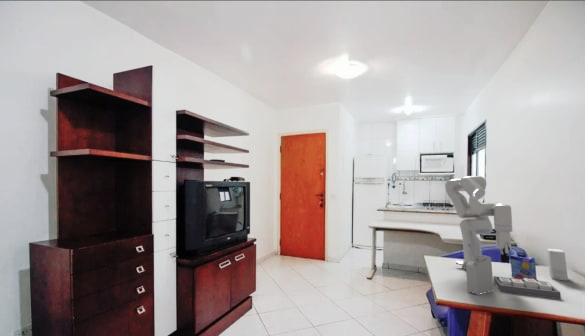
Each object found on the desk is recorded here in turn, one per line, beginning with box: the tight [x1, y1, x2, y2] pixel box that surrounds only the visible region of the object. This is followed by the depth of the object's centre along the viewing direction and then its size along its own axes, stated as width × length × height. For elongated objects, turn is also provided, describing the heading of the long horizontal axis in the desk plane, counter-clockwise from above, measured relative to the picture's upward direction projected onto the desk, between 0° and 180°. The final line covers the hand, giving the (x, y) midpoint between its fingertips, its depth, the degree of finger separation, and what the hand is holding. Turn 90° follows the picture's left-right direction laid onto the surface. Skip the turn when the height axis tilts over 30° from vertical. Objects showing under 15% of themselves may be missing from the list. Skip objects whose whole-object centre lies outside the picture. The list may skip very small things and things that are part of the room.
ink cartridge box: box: [509, 251, 538, 281], centre depth 150 cm, size 10×6×14 cm, turn 29°
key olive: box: [523, 278, 538, 288], centre depth 133 cm, size 4×5×3 cm
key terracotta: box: [511, 278, 525, 287], centre depth 136 cm, size 4×5×3 cm
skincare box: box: [546, 248, 569, 282], centre depth 149 cm, size 8×7×16 cm
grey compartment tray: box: [492, 275, 562, 300], centre depth 134 cm, size 23×14×3 cm, turn 63°
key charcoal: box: [538, 281, 553, 290], centre depth 131 cm, size 4×5×3 cm
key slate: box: [499, 277, 512, 286], centre depth 138 cm, size 4×5×3 cm
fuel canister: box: [465, 244, 494, 295], centre depth 134 cm, size 15×5×25 cm, turn 113°
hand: (505, 262), depth 139 cm, fingers closed
